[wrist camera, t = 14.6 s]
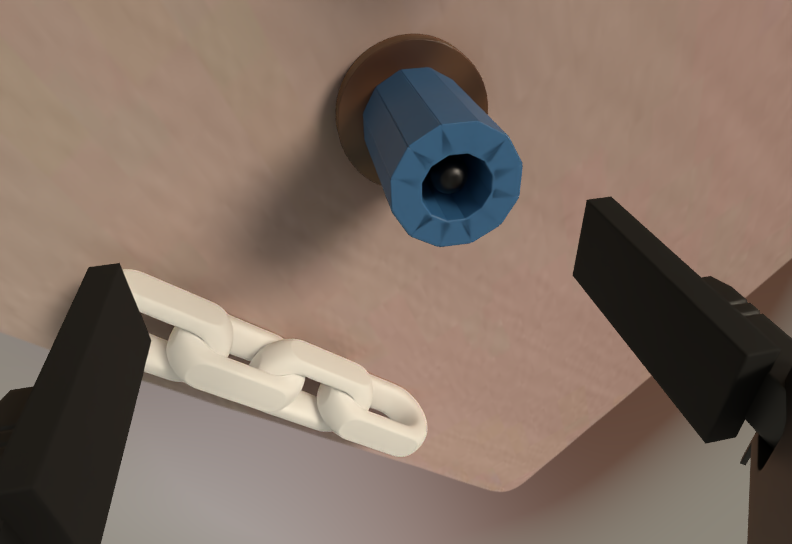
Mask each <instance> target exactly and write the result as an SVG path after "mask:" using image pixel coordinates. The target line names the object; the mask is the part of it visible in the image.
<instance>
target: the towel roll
mask: <svg viewBox="0 0 792 544" xmlns="http://www.w3.org/2000/svg"><path fill="white" fill-rule="evenodd" d="M363 113H364V114H363V126H364V140H365V142H366V145H367V148H368V150H369V153H370V156H371V158H372V161H373V164H374V166H375V169H376V171H377V174H378V177H379V179H380V182H381V185H382V187H383V190H384V192H385V195H386V198H387V200H388V203H389V206H390V208H391V211H392V213H393V215H394V216H395V217H396V219H397V220H398V221H399V223H400V224H401V225H402V227H403V228H404V229H405V231H406V232H407V234H408V235H410V236H411V237H413V238H416V239H419V240H421V241H424V242H426V243H429V244H432V245H434V246H437V247H438V246H439V247H444V246H452V245H460V244H468V243H471V242H474V241H475V240H477V239H479V238H480V237H482V236H483V235H485V234H487V233H488V232H490V231H492V230H493V229H495V228H496V227H498V226H499V224H500V225H501V224H502V222H503V221H504V219H505V218H506V216H507V215H508V213H509V212H510V210H511V209H512V207H513V206H514V204H515V203H516V201H517V200H518V198H519V197H518V196H519V194H520V185H521V176H522V167H523V166H522V161H521V159H520V157H519V155H518V153H517V151H516V149H515V147H514V145H513V144H512V142H511V140H510V138H509V136H508V135H507V134H506V133H505V132H504V131H503V130H502V129H501V128H500V127H499V126H498V125H497V124H496V123H495V122H494V121H493V120H492V119H491V118H490V117H489V116H488V115H487V114H486V113H485V112H484V111H483V110H482V109H481V108H480V107H479V106H478V105H477V104H476V103H475V102H474V101H473V100H472V99H471V98H470V97H469V96H468V95H467V94H466V93H465V92H464V91H463V90H462V89H461V88H460V87H459V86H458V85H457V84H456V83H455V82H454V81H453V80H452V79H450V78H449V77H447V76H445V75H443V74H441V73H439V72H437V71H435V70H433V69H432V68H429V67H425V68H413V69H401V70H399V71H397V72H396V73H394V74H393V75H392V76H390V77H389V78H387V79H386V80H384V81H383V82H382V83H380V84H379V85H377V86H376V88H375V89H374V91H373V93H372V95H371V97H370V100H369V102H368V104H367V106H366V108H365V110H364V112H363ZM457 154H458V155H459V156H460V157H461V159H462V160H463V162H464V163H465V165H466V167H467V170H468V178H467V181H466V184H465V185H464V187H463V188H462V189H461V190H459V191H457V192H455V193H451V194H446V193H442V192H440V191H438V190H437V189H436V188H435V187H434V186H433V185H432V183H431V181H430V179H429V178H428V176H427V173H428V172H429V170H430V168H431V167H432V166H433V165H435V164H436V163H438V162H439V161H441V160H443V159H444V158H446V157H447V156H449V155H457Z"/></svg>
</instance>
